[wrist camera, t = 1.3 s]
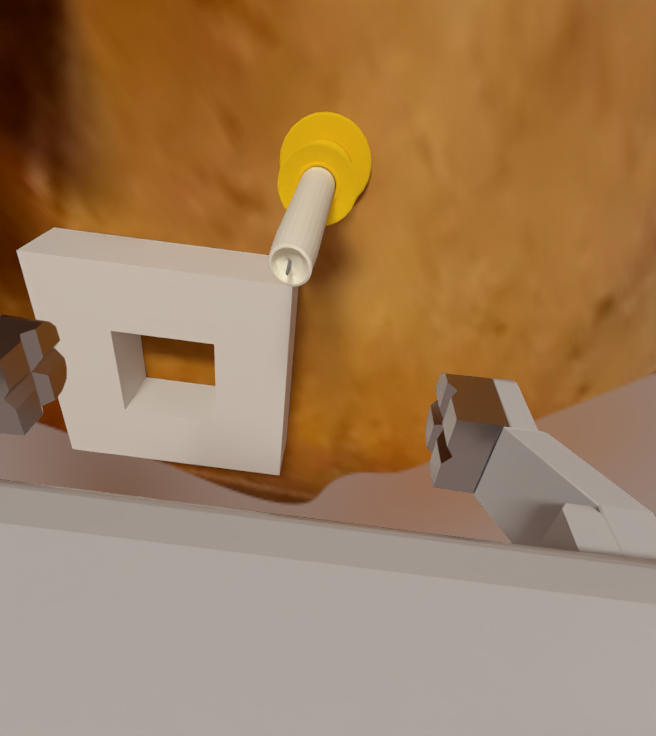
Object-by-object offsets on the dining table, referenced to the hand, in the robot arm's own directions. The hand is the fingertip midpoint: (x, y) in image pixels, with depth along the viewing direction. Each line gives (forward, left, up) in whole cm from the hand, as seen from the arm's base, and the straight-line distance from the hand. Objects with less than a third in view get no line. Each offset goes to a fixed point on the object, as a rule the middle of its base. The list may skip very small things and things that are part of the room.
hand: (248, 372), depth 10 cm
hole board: (+9, +14, -21) cm, 27 cm away
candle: (0, 0, -21) cm, 21 cm away
